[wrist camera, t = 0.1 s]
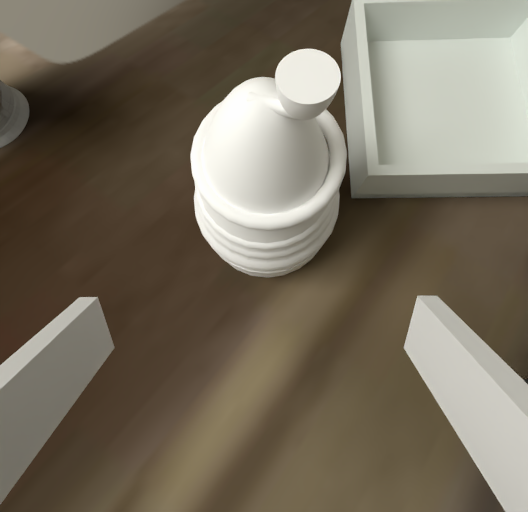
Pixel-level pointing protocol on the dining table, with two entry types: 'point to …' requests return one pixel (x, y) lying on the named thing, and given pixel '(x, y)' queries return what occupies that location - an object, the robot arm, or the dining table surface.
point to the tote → (436, 98)
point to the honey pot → (271, 167)
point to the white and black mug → (12, 113)
